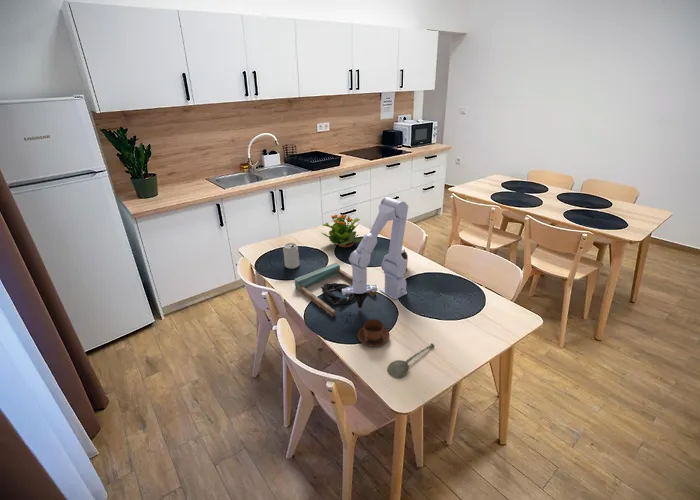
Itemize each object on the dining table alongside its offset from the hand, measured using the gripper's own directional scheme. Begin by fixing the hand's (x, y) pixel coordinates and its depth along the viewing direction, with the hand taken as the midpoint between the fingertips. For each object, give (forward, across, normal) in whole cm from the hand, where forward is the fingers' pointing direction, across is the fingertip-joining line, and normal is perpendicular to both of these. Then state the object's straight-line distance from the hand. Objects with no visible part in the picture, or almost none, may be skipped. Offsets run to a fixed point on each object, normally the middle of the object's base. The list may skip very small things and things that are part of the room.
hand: (359, 306), depth 151 cm
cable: (+2, +7, -13) cm, 15 cm away
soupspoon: (+2, -11, +33) cm, 35 cm away
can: (+2, +26, -45) cm, 52 cm away
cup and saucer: (+2, -1, +19) cm, 19 cm away
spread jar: (+2, -24, -28) cm, 38 cm away
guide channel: (+1, +8, -16) cm, 18 cm away
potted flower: (+2, -6, -64) cm, 64 cm away
